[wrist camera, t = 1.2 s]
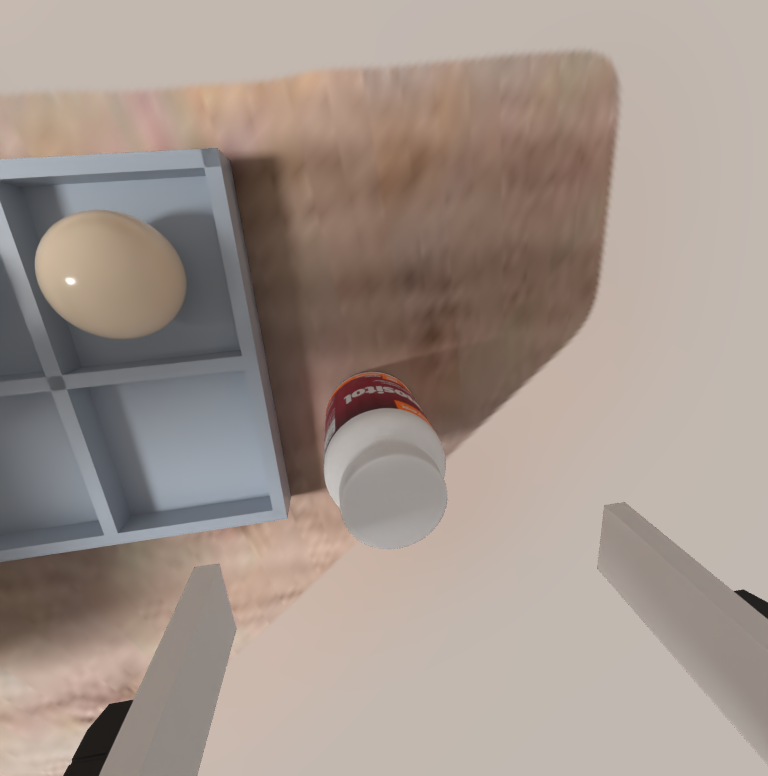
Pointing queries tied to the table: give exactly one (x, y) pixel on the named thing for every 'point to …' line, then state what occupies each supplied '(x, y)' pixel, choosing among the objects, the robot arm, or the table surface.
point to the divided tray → (133, 369)
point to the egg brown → (110, 274)
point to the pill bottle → (383, 462)
